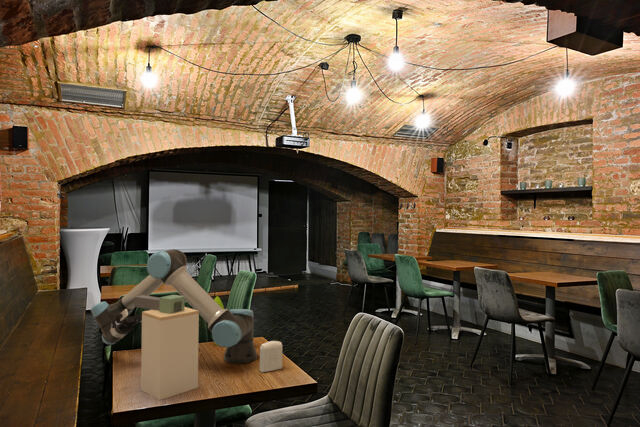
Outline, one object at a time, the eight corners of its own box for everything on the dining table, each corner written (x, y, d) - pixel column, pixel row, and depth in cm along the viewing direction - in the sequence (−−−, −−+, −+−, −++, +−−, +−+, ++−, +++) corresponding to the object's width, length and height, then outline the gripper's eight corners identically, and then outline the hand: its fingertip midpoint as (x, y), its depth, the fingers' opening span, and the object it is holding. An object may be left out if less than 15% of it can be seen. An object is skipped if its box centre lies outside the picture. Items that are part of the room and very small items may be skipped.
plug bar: (184, 310, 174) (184, 296, 174) (170, 313, 168) (170, 299, 168) (145, 304, 185) (145, 290, 184) (131, 307, 178) (131, 293, 178)
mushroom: (213, 341, 236) (214, 294, 236) (227, 342, 233) (228, 295, 233) (205, 345, 228) (205, 297, 228) (220, 347, 225) (220, 298, 225)
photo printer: (279, 366, 199) (279, 338, 199) (283, 369, 195) (283, 340, 195) (258, 370, 193) (258, 342, 193) (262, 373, 190) (262, 344, 190)
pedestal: (197, 387, 173) (198, 310, 173) (159, 400, 162) (160, 317, 162) (178, 378, 183) (179, 305, 183) (141, 389, 171) (142, 311, 171)
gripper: (150, 329, 207) (172, 313, 195) (95, 340, 189) (114, 323, 176) (147, 314, 210) (167, 297, 198) (91, 323, 191) (110, 305, 179)
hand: (142, 309), depth 187 cm, fingers open, 13 cm apart
